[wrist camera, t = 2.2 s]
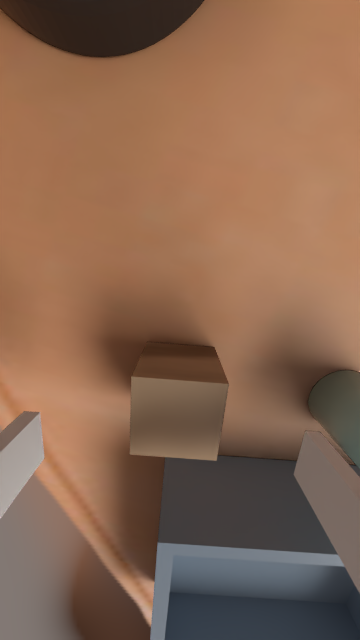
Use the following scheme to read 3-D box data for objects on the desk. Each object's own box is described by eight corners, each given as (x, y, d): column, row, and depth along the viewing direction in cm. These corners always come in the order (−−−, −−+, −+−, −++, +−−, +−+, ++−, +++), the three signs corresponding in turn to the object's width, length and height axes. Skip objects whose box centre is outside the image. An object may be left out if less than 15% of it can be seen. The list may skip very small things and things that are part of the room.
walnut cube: (147, 341, 15) (131, 376, 10) (213, 346, 15) (229, 384, 10) (145, 399, 16) (129, 454, 12) (206, 403, 16) (216, 460, 12)
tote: (165, 451, 18) (157, 542, 12) (403, 468, 18) (510, 566, 12) (155, 582, 22) (146, 694, 16) (344, 595, 22) (401, 709, 17)
